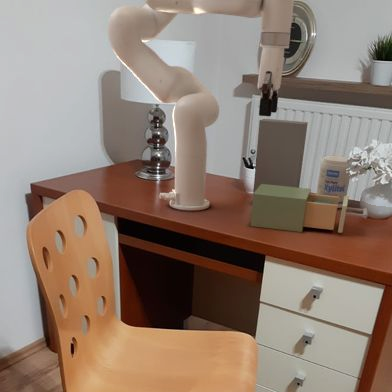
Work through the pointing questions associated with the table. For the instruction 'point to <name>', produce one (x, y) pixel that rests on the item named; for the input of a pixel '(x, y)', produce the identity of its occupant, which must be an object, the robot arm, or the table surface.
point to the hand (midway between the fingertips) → (267, 114)
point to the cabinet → (279, 207)
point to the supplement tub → (333, 178)
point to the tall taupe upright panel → (279, 153)
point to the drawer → (327, 212)
